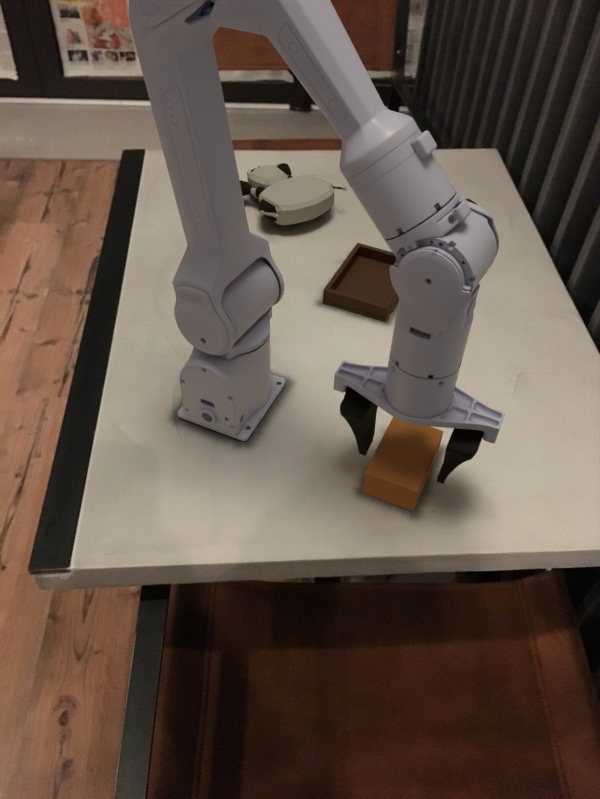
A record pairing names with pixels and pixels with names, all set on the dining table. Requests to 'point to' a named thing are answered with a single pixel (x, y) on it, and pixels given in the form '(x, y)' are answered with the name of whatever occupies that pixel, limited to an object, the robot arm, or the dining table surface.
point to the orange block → (402, 463)
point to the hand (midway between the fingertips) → (403, 461)
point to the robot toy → (288, 194)
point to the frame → (364, 283)
